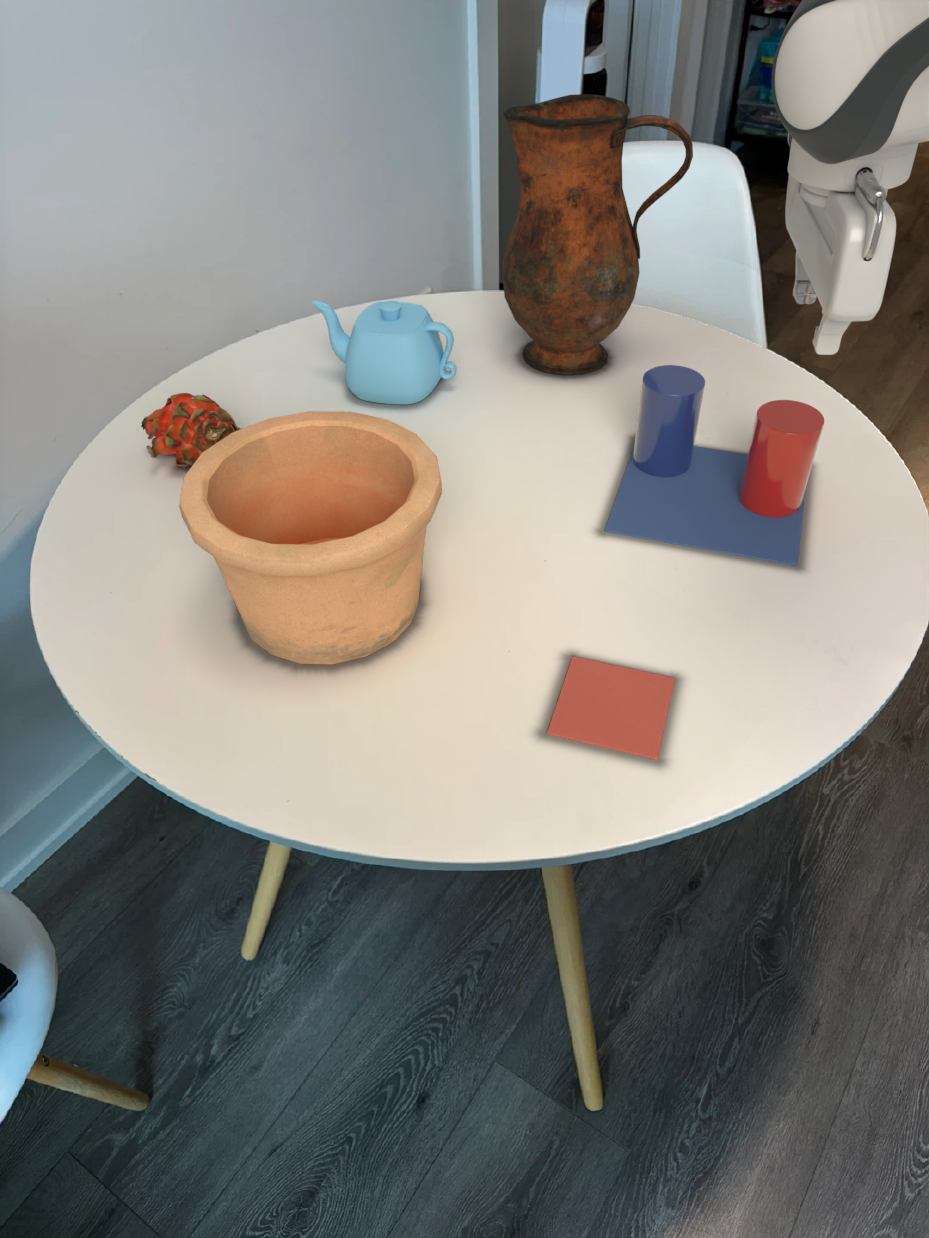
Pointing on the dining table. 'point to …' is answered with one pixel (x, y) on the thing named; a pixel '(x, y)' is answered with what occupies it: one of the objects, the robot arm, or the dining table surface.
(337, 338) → the teapot
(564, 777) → the dining table surface
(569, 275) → the pitcher
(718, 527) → the blue mat
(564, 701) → the red mat
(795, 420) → the red canister
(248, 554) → the pottery
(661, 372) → the blue canister
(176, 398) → the dragon fruit
